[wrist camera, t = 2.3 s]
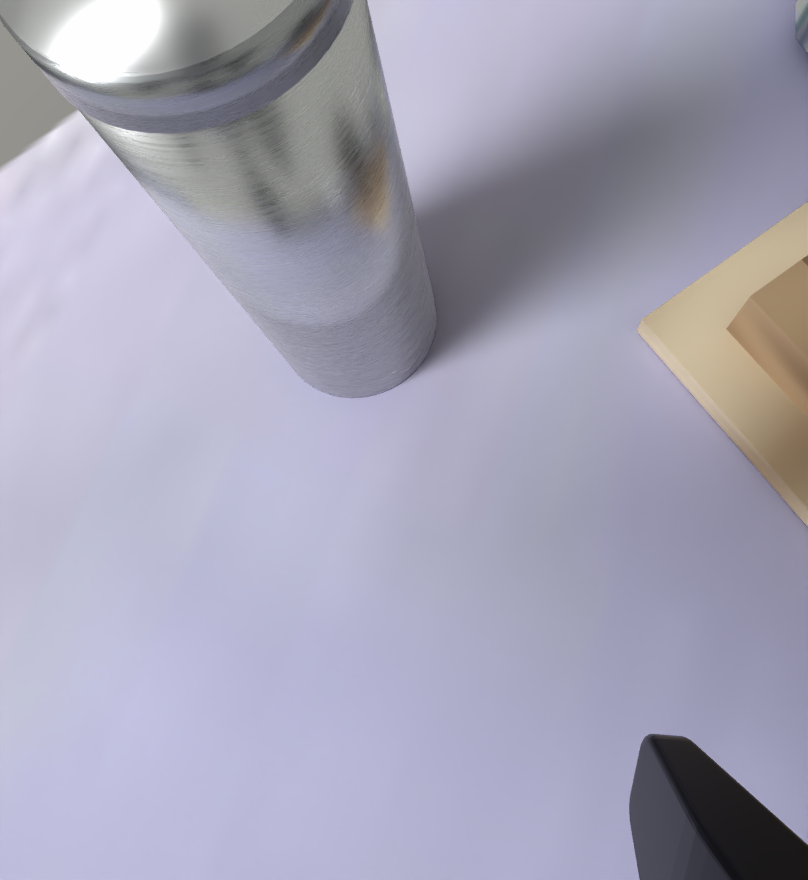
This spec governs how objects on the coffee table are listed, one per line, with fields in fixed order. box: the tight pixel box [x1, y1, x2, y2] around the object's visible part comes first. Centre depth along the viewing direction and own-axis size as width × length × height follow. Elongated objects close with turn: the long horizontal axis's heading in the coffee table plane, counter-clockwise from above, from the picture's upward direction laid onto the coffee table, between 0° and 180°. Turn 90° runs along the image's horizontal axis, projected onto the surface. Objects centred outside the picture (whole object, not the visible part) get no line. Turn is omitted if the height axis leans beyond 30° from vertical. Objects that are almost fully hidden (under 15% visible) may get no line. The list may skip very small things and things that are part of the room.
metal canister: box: [0, 0, 437, 398], centre depth 16 cm, size 5×5×13 cm
